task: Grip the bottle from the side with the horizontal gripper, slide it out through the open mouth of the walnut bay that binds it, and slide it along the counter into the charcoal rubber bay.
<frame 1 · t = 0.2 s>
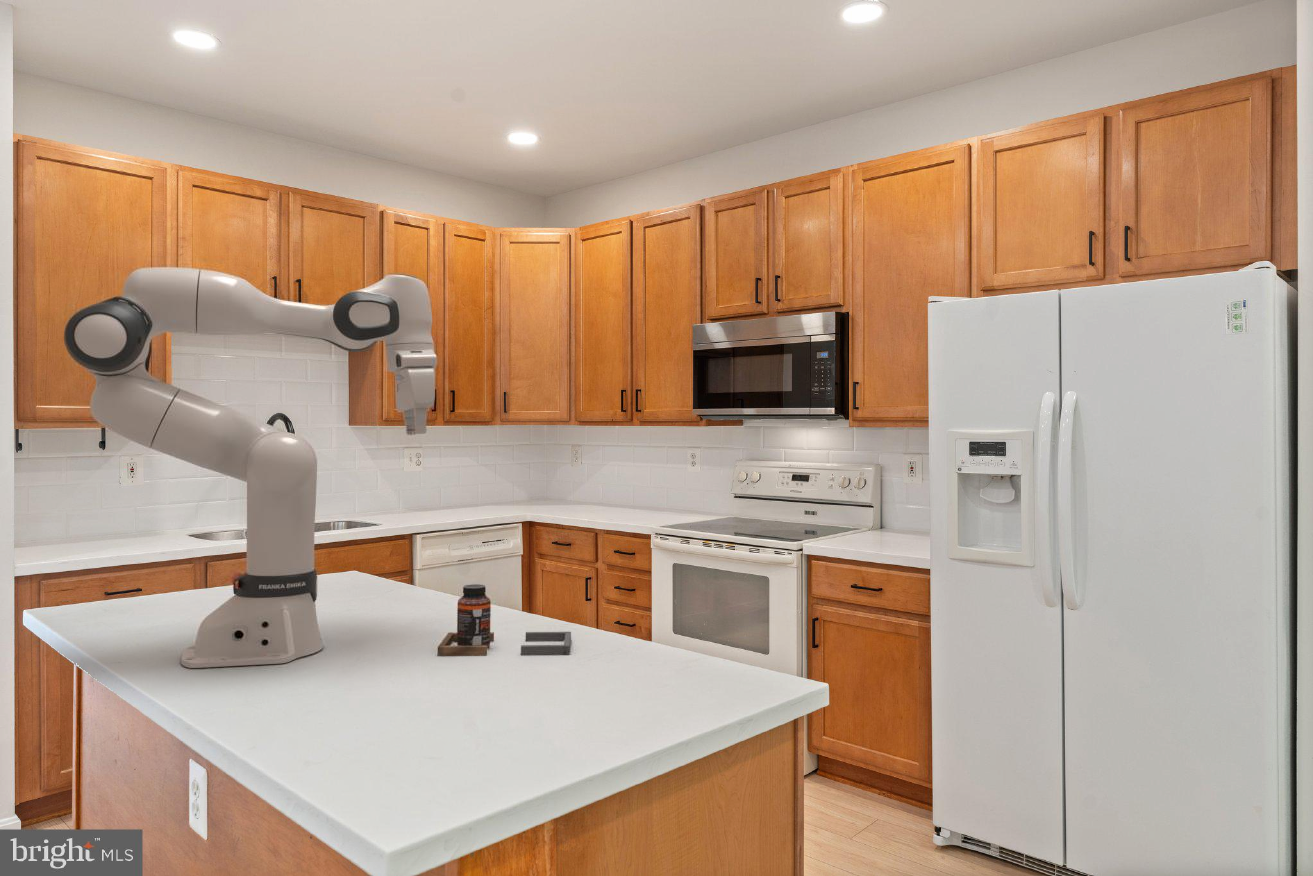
hand: (416, 434, 160), 39 cm above the counter, tool pointing down, fingers open, 8 cm apart
supplement bottle: (473, 649, 154), on the counter
walnut bay: (473, 647, 154), on the counter
charcoal bay: (540, 647, 155), on the counter
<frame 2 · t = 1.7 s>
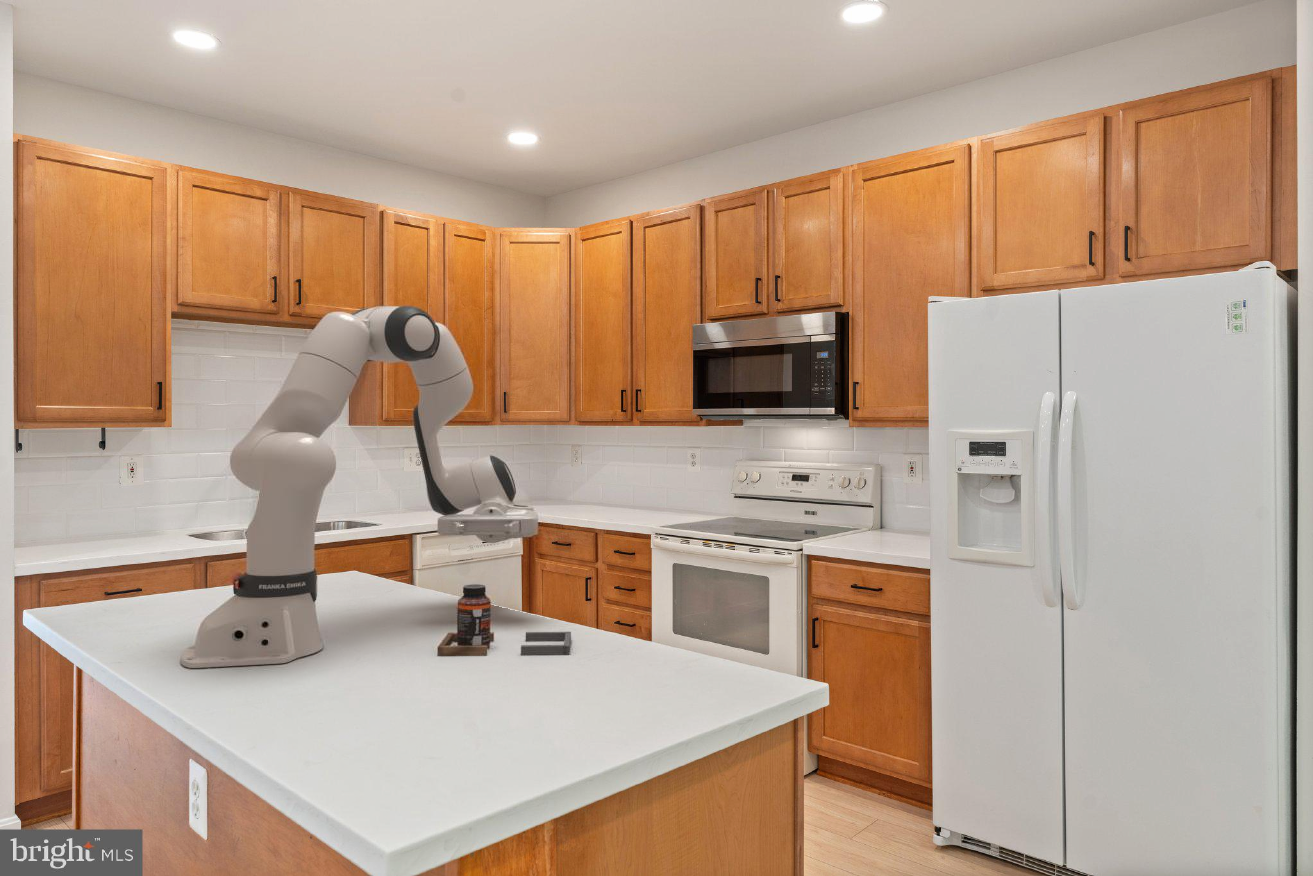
hand: (484, 529, 166), 20 cm above the counter, tool horizontal, fingers open, 8 cm apart
nothing on the counter moved.
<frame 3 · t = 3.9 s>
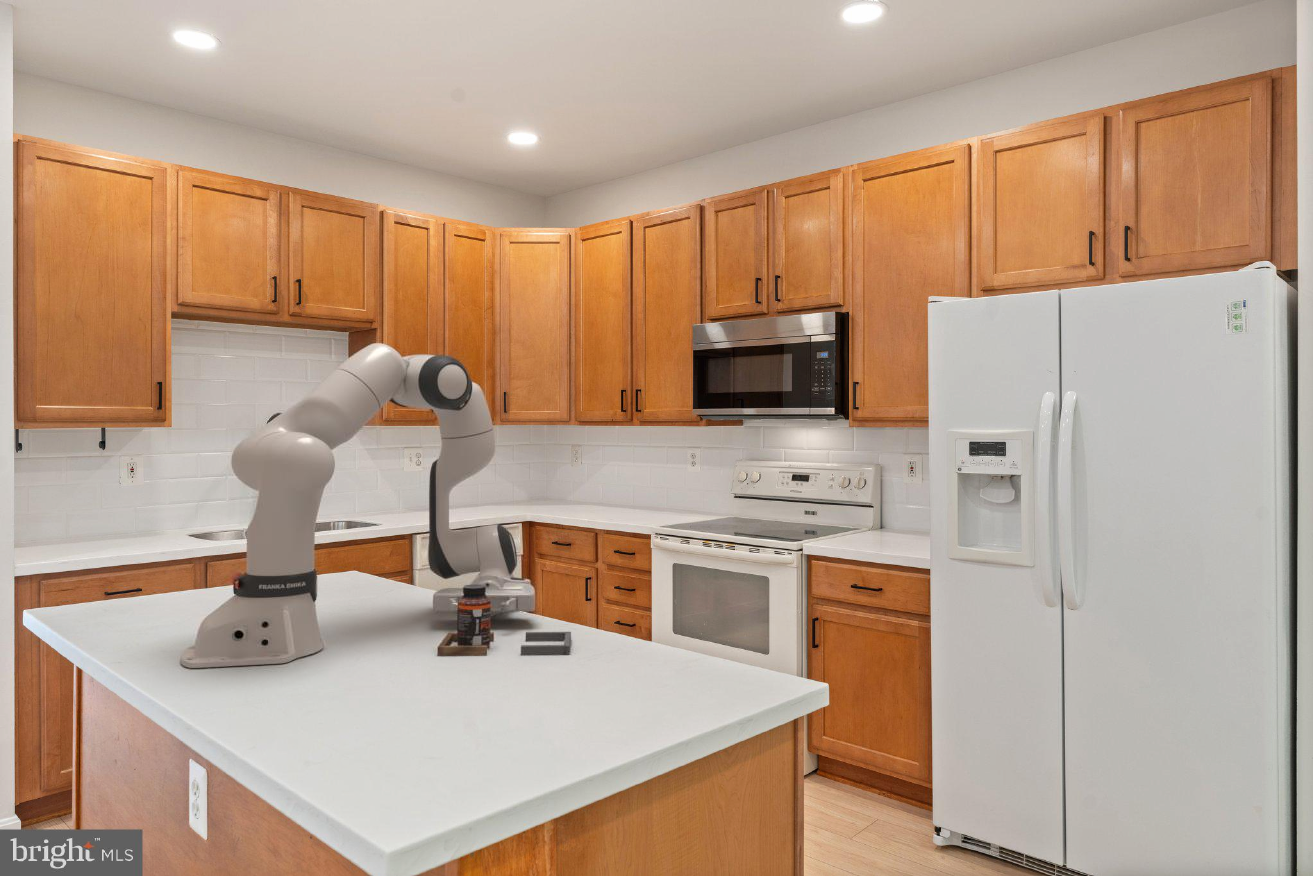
hand: (480, 607, 163), 5 cm above the counter, tool horizontal, fingers open, 8 cm apart
nothing on the counter moved.
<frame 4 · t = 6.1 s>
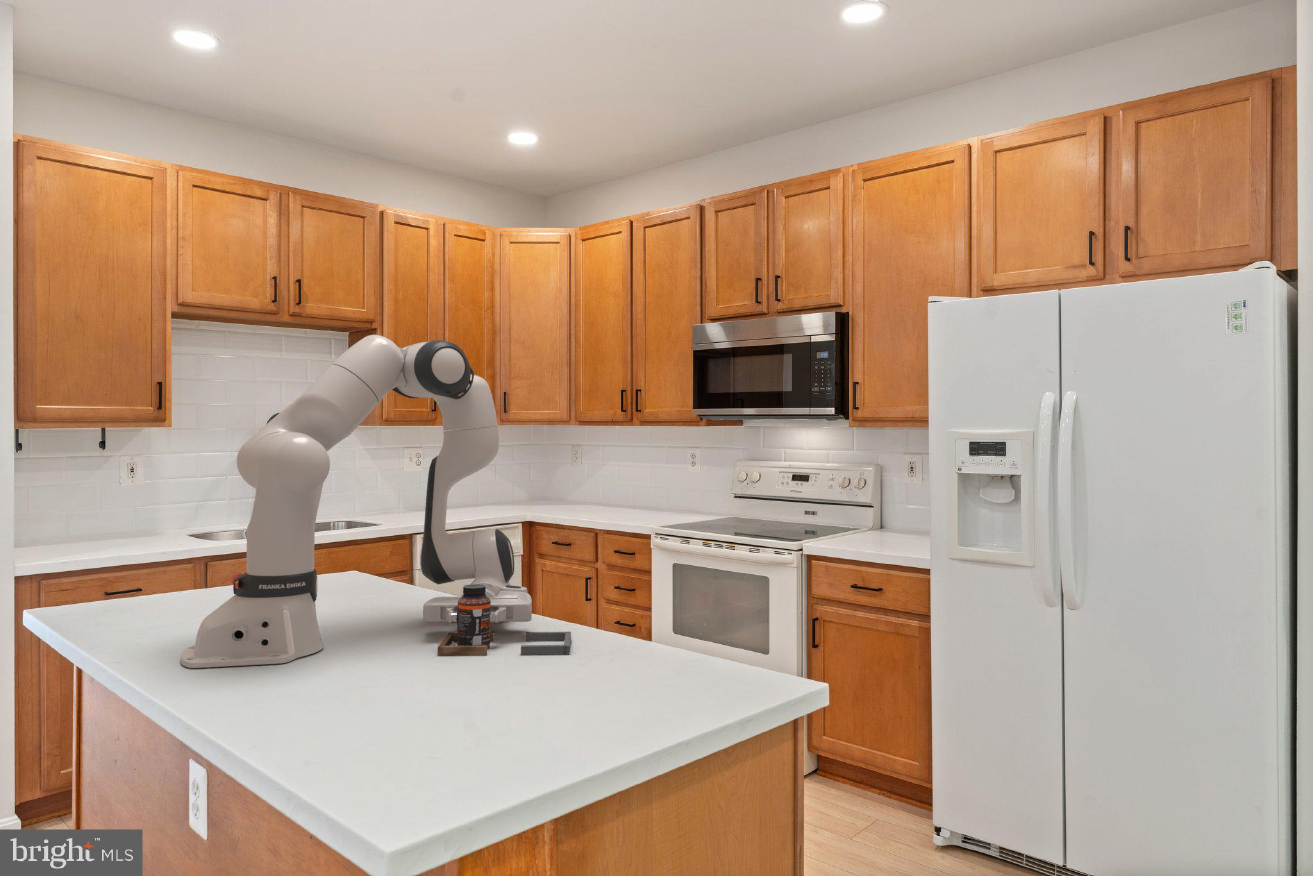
hand: (473, 618, 153), 6 cm above the counter, tool horizontal, fingers closed on supplement bottle, 6 cm apart
supplement bottle: (473, 648, 154), on the counter, touching gripper
when the fingers open (6 cm above the counter, at t = 7.3 s): supplement bottle moves 6 cm, on the counter.
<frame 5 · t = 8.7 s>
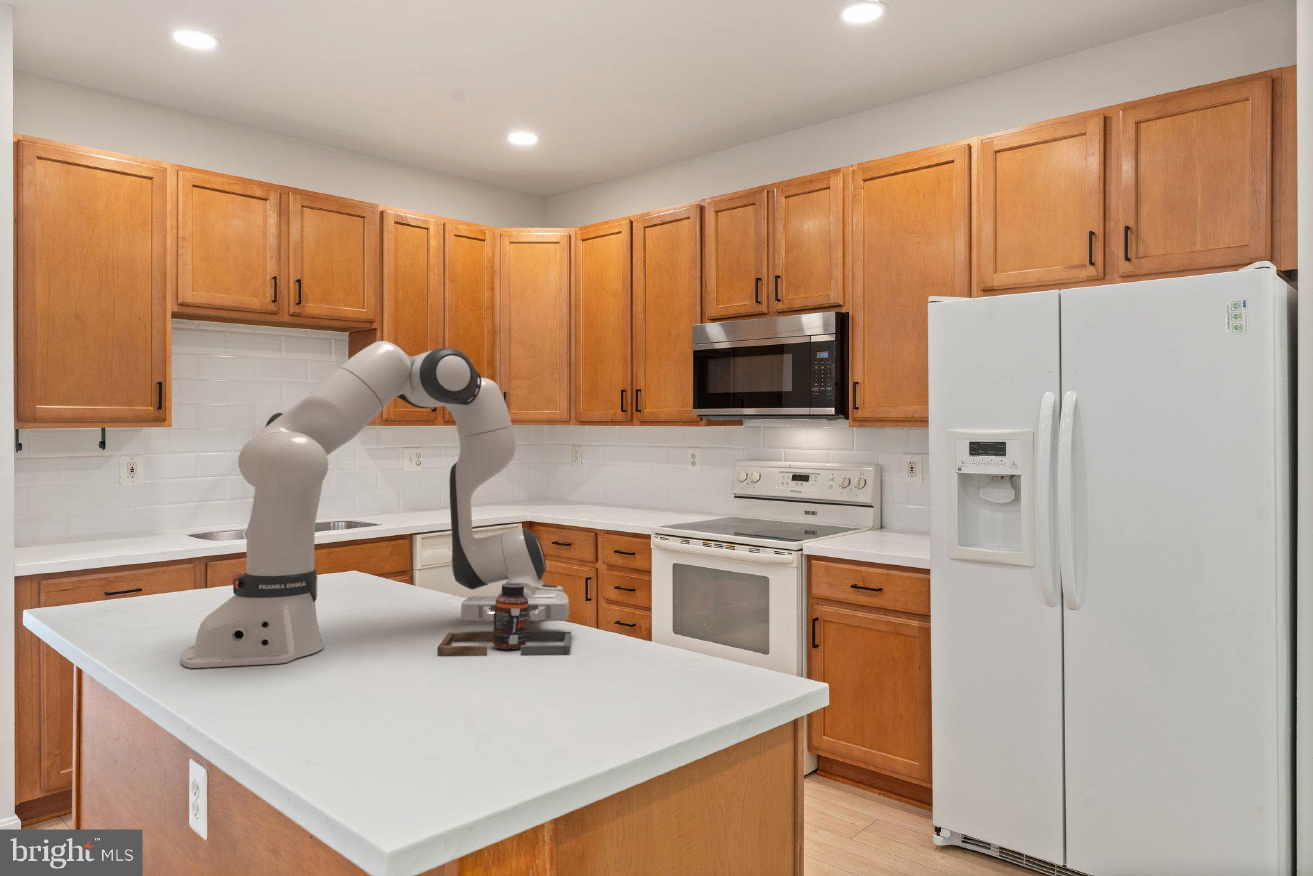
hand: (512, 617, 153), 6 cm above the counter, tool horizontal, fingers open, 6 cm apart
supplement bottle: (509, 647, 154), on the counter, touching gripper
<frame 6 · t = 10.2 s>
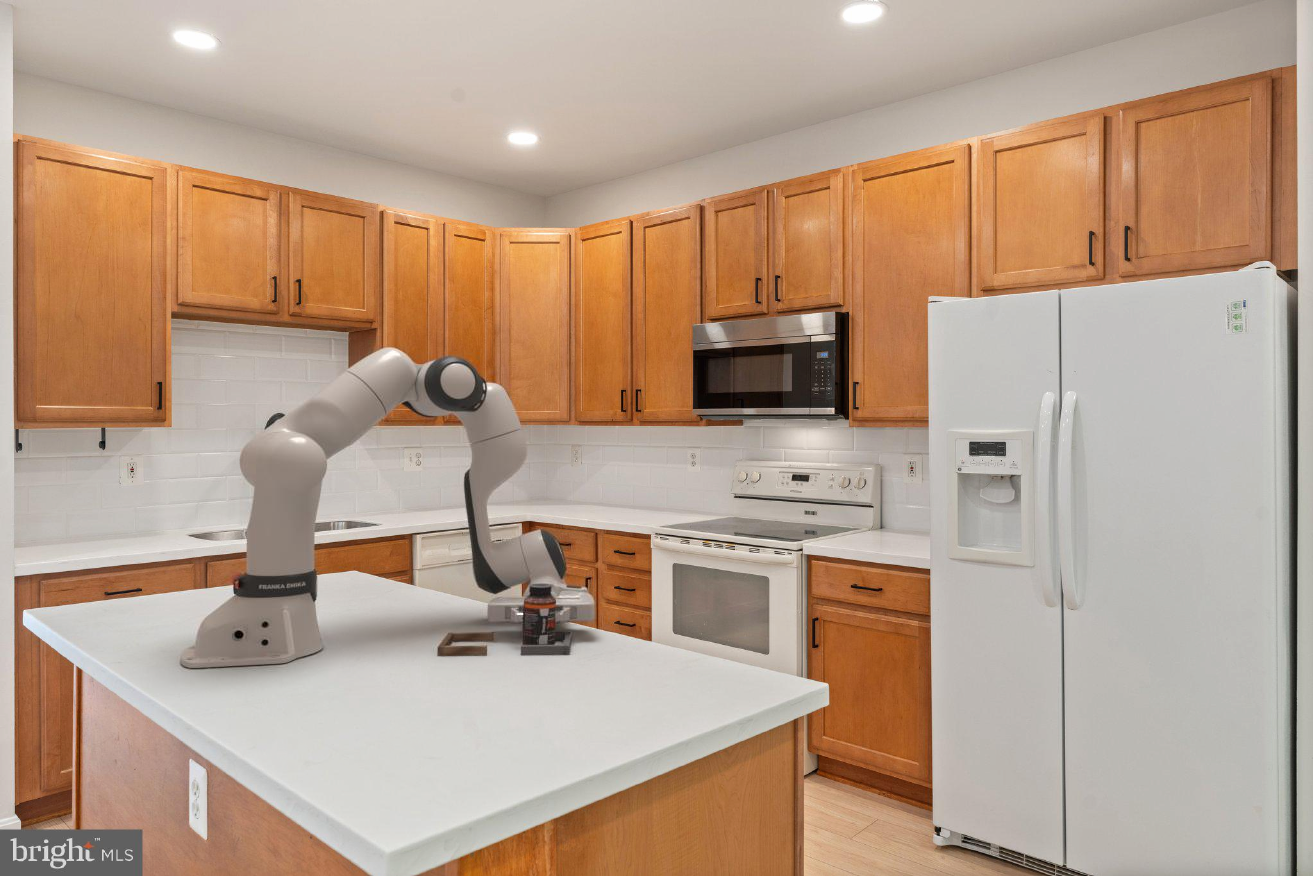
hand: (539, 618, 154), 5 cm above the counter, tool horizontal, fingers closed on supplement bottle, 6 cm apart
supplement bottle: (538, 647, 155), on the counter, touching gripper
when the fingers open (5 cm above the counter, at t = 10.4 s): supplement bottle stays where it is, on the counter.
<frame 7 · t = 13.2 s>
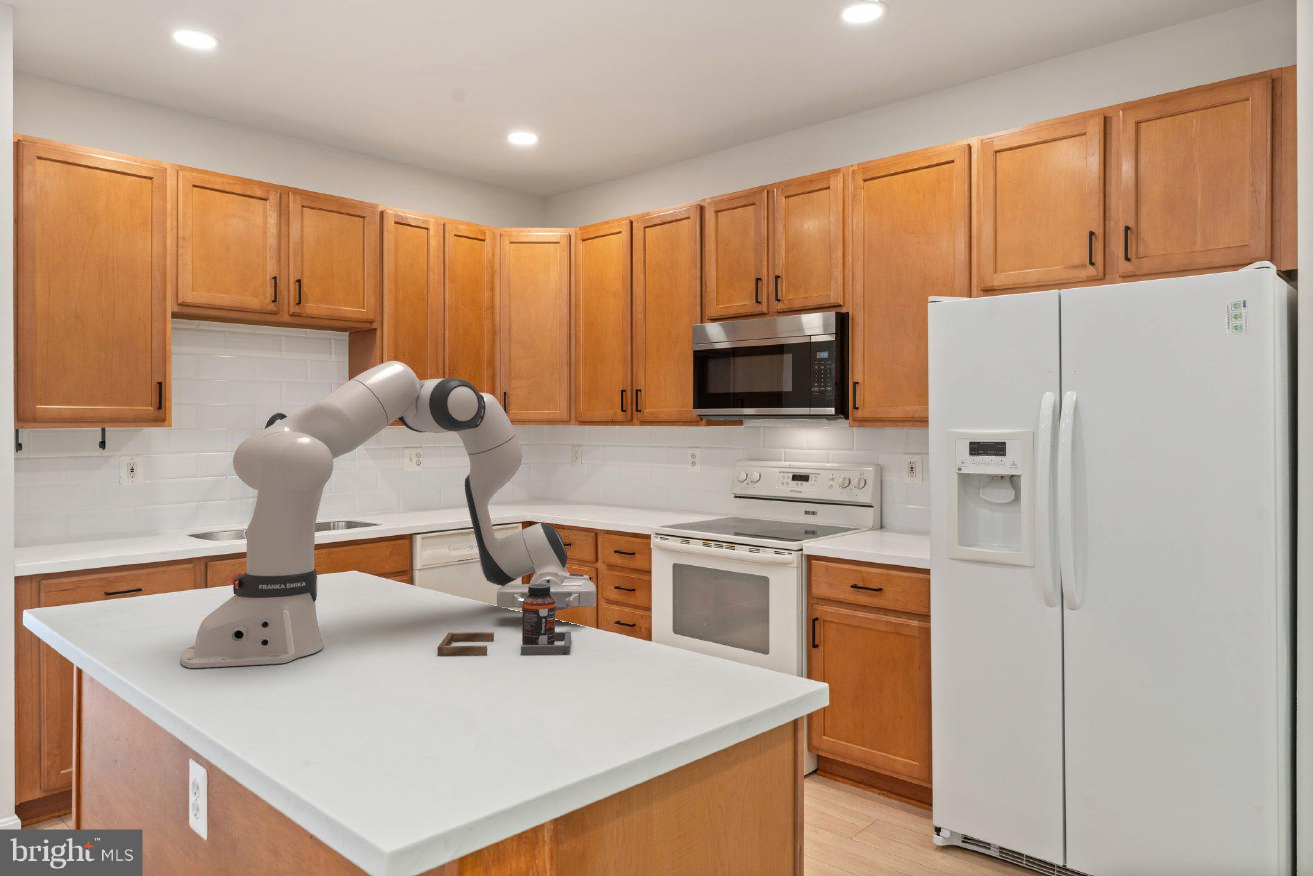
hand: (545, 603, 166), 6 cm above the counter, tool horizontal, fingers open, 8 cm apart
supplement bottle: (538, 648, 155), on the counter
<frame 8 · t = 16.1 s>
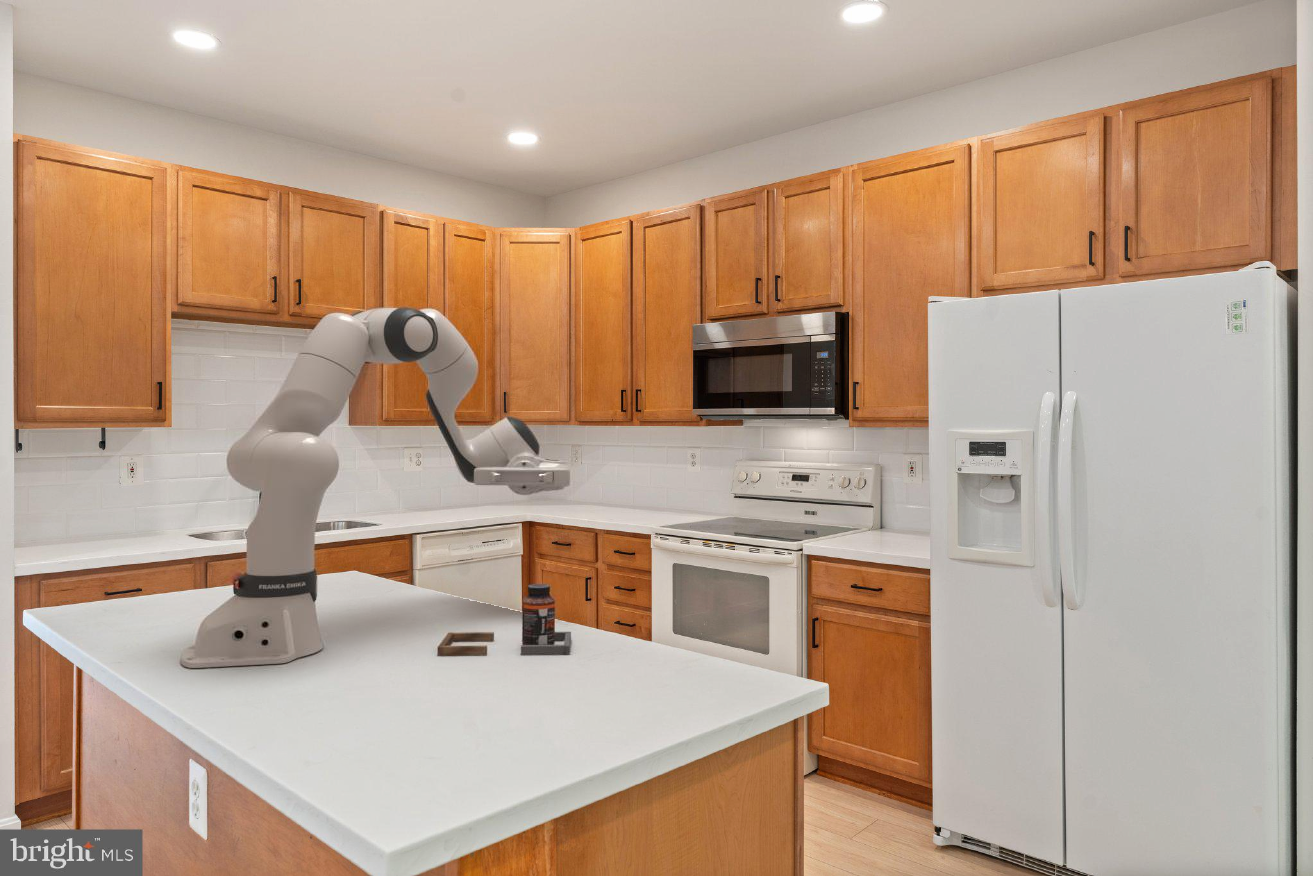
hand: (519, 478, 173), 30 cm above the counter, tool horizontal, fingers open, 8 cm apart
nothing on the counter moved.
at the end: supplement bottle 0.2 cm off-centre on the charcoal bay, point 0.0 cm above the charcoal bay's base; supplement bottle tilted 0°; the gripper is holding nothing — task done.
